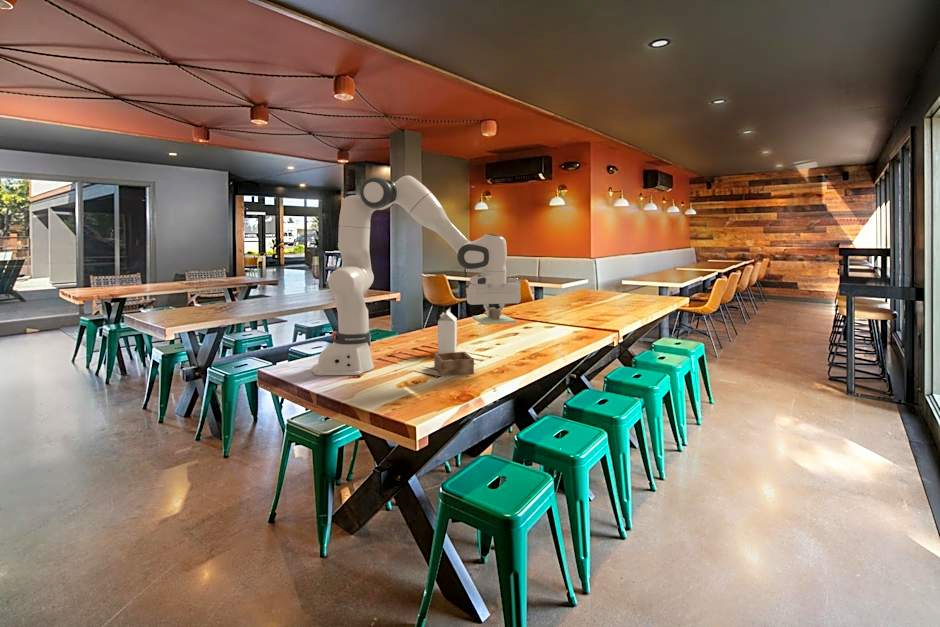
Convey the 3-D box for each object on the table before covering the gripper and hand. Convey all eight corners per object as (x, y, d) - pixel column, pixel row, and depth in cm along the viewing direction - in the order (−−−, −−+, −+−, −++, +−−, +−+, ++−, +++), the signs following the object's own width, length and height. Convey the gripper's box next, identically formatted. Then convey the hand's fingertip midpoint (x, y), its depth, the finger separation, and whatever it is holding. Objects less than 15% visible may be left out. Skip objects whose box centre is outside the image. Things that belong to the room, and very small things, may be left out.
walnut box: (441, 377, 175) (441, 361, 174) (434, 368, 186) (434, 353, 185) (473, 375, 178) (473, 359, 177) (464, 366, 190) (464, 351, 189)
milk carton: (456, 352, 211) (457, 309, 208) (454, 356, 204) (454, 311, 201) (440, 352, 212) (440, 308, 209) (437, 356, 205) (437, 311, 202)
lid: (482, 324, 174) (482, 312, 174) (472, 318, 186) (472, 306, 186) (515, 323, 178) (516, 310, 177) (503, 317, 190) (504, 305, 189)
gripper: (517, 277, 185) (516, 313, 188) (465, 278, 180) (465, 315, 182) (524, 278, 179) (523, 316, 182) (470, 280, 174) (470, 318, 176)
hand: (493, 315), depth 182 cm, fingers closed on lid, 2 cm apart
